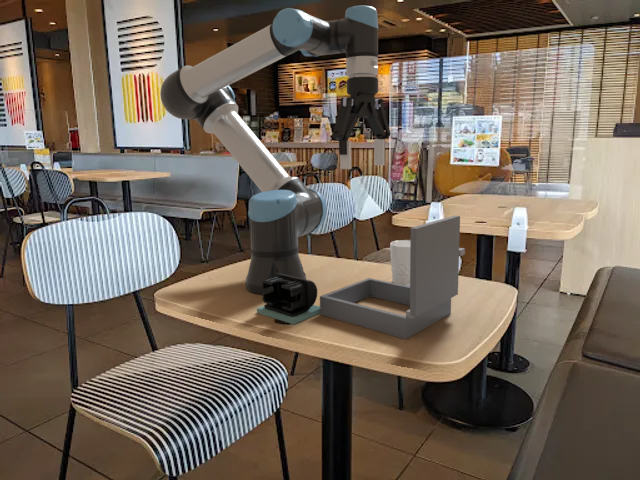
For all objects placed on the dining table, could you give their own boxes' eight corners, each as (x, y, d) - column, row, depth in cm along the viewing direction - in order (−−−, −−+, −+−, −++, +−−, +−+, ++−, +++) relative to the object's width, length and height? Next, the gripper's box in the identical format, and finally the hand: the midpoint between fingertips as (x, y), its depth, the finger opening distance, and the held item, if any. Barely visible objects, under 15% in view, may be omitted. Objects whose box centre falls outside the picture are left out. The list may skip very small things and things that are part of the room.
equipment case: (320, 314, 106) (317, 217, 102) (374, 292, 120) (373, 205, 116) (413, 341, 91) (414, 229, 87) (462, 312, 105) (466, 214, 101)
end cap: (318, 308, 107) (317, 277, 106) (294, 317, 102) (293, 285, 101) (285, 299, 114) (284, 270, 112) (261, 307, 109) (260, 277, 107)
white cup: (400, 276, 133) (400, 238, 131) (427, 281, 128) (428, 242, 126) (384, 283, 127) (384, 244, 125) (412, 288, 122) (412, 248, 120)
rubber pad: (257, 312, 108) (256, 308, 108) (287, 301, 115) (286, 297, 115) (293, 324, 101) (293, 319, 101) (323, 312, 108) (323, 307, 107)
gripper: (340, 72, 109) (342, 171, 114) (404, 78, 127) (404, 164, 132) (315, 75, 114) (318, 170, 119) (380, 81, 132) (380, 163, 137)
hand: (363, 167), depth 125 cm, fingers open, 13 cm apart
